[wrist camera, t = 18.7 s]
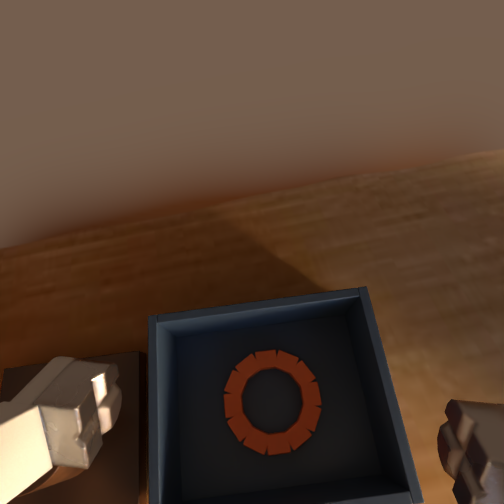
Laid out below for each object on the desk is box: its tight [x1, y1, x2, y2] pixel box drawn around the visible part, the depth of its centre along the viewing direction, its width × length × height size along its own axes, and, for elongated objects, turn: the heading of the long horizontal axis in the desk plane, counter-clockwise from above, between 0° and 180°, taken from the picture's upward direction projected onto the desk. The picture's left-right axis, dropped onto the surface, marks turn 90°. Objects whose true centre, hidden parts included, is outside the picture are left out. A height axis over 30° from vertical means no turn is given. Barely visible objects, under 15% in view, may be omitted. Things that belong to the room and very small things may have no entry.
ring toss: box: [0, 351, 146, 504], centre depth 20 cm, size 10×10×12 cm
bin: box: [148, 286, 424, 504], centre depth 23 cm, size 14×12×6 cm
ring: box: [223, 349, 322, 456], centre depth 24 cm, size 6×6×1 cm
